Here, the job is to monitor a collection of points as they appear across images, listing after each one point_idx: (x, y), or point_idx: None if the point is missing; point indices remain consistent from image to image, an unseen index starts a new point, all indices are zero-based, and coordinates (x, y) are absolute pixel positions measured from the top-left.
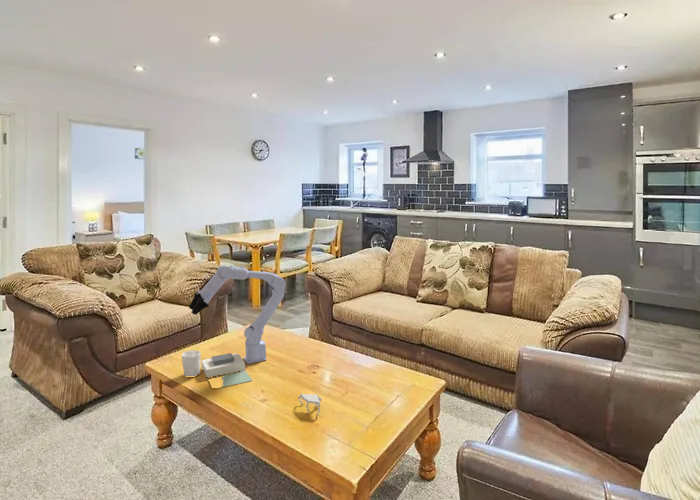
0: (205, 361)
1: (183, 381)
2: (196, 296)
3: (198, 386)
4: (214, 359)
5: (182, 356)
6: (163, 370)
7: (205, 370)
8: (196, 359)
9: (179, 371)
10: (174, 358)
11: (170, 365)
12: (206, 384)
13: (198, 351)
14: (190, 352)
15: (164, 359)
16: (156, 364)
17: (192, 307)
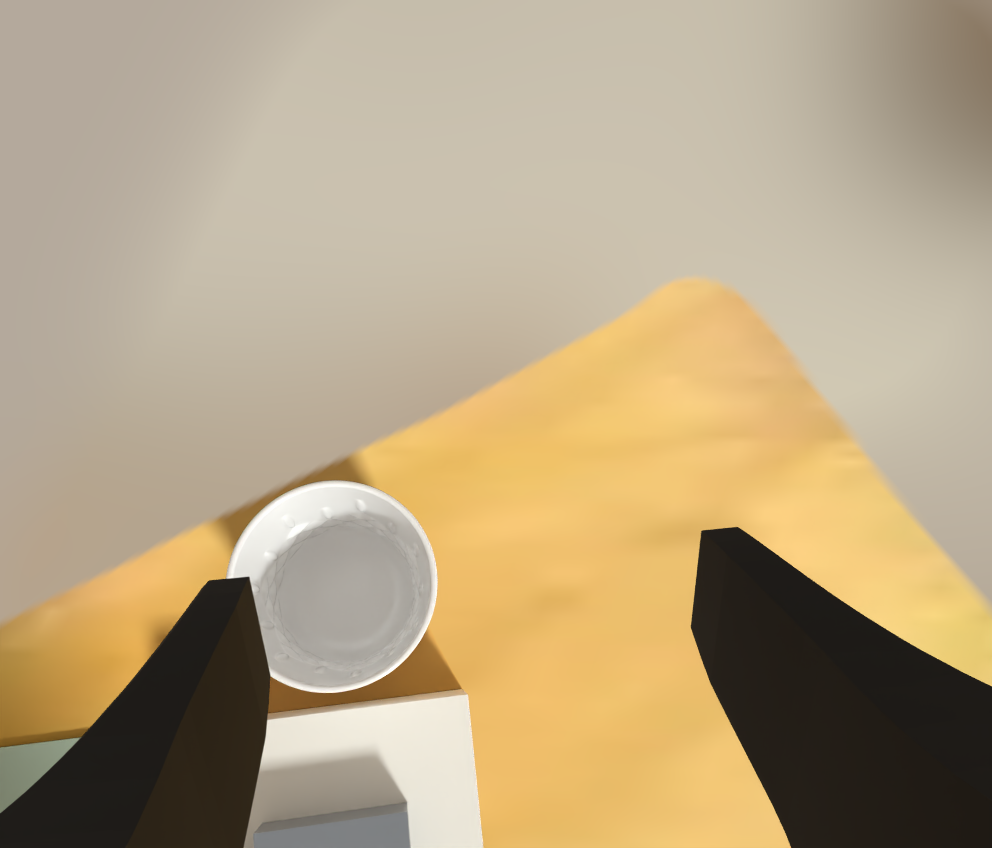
0: (413, 734)
1: (243, 516)
2: (955, 844)
3: (74, 637)
4: (306, 842)
5: (297, 487)
6: (543, 368)
7: None
8: None
9: (470, 491)
10: (776, 458)
11: (630, 423)
12: (79, 710)
13: (379, 671)
14: (428, 579)
15: (779, 378)
16: (690, 318)
17: (713, 626)
